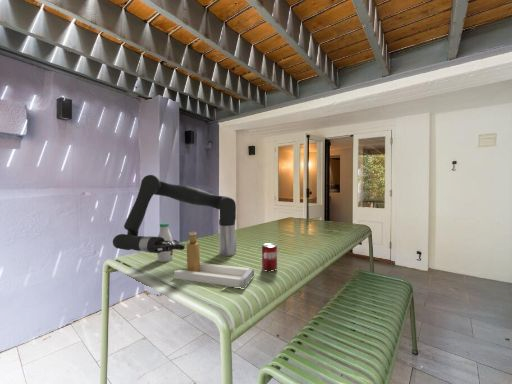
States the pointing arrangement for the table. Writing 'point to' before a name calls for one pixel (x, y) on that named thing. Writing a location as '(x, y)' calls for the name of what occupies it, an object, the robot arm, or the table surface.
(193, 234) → the amber bottle
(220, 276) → the white trough
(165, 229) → the milk bottle
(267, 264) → the soda can
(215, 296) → the table surface
